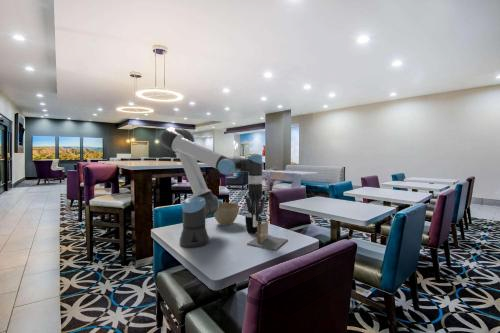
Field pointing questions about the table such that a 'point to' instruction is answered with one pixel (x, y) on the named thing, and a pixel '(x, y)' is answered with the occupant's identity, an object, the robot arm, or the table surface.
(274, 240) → the mat
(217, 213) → the flower pot
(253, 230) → the mug
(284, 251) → the table surface
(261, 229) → the tile
